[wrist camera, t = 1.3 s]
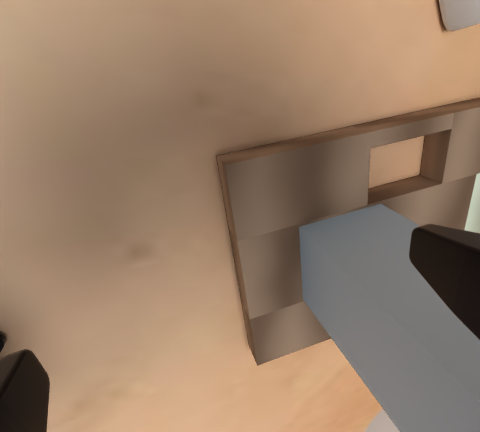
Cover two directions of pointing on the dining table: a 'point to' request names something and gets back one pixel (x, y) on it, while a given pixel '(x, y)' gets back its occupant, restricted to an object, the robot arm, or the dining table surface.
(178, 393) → the dining table surface
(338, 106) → the dining table surface
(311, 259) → the blue block
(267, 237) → the board
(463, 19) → the spoon rest
